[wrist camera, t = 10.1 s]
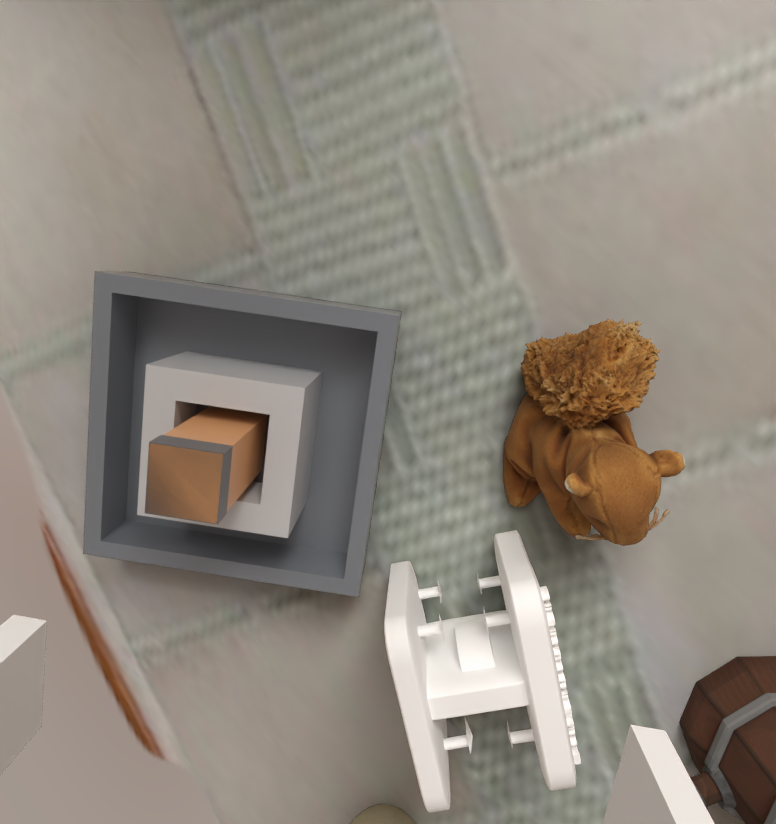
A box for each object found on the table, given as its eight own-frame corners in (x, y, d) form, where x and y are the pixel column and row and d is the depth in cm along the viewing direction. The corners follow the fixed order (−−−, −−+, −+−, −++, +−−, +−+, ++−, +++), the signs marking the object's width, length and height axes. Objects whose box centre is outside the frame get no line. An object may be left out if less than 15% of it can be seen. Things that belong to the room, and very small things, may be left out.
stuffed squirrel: (506, 510, 49) (535, 594, 36) (485, 326, 46) (509, 346, 33) (639, 495, 48) (719, 575, 35) (626, 306, 45) (707, 319, 32)
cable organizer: (386, 542, 50) (375, 621, 38) (521, 517, 49) (550, 591, 37) (425, 709, 53) (426, 828, 41) (553, 689, 52) (590, 805, 40)
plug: (209, 405, 44) (148, 442, 34) (268, 414, 44) (224, 453, 34) (205, 461, 45) (144, 513, 35) (262, 470, 45) (217, 524, 35)
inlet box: (129, 271, 46) (69, 270, 39) (401, 311, 46) (397, 318, 38) (116, 527, 51) (59, 572, 43) (364, 565, 50) (353, 619, 42)
